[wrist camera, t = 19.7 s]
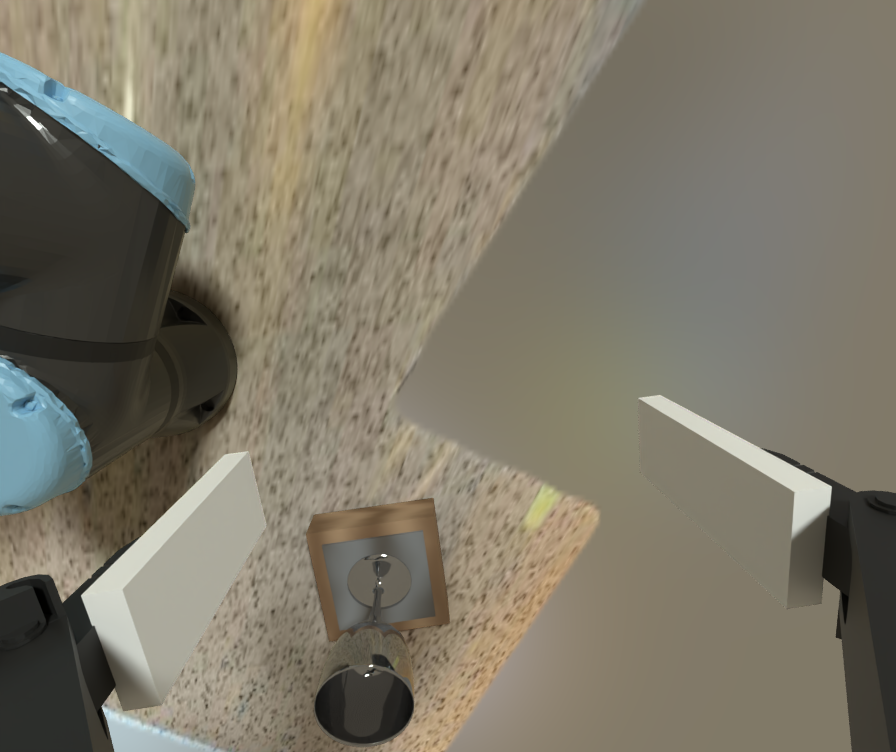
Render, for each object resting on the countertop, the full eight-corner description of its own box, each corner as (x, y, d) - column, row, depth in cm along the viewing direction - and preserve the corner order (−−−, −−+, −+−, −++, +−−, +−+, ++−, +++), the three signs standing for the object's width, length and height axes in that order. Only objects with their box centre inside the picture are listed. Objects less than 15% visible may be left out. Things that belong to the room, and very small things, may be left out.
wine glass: (414, 548, 50) (412, 663, 36) (416, 610, 52) (416, 743, 38) (340, 552, 50) (309, 670, 35) (345, 614, 52) (317, 751, 37)
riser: (335, 615, 57) (328, 643, 52) (314, 514, 53) (305, 535, 49) (447, 599, 57) (450, 625, 53) (433, 497, 54) (434, 517, 50)
